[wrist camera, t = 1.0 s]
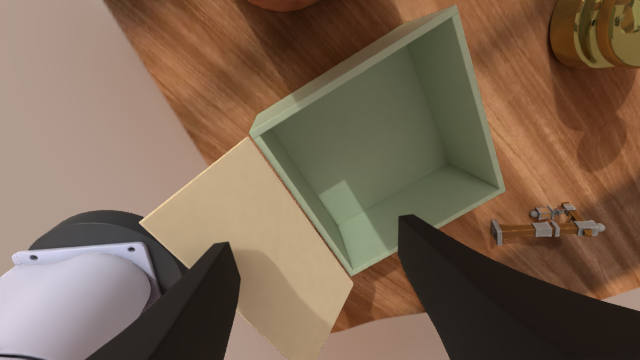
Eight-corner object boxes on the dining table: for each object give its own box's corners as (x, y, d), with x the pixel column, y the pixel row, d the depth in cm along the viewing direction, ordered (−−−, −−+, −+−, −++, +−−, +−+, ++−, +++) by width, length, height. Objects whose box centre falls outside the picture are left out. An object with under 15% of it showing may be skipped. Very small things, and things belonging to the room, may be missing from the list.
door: (354, 284, 17) (350, 283, 18) (248, 136, 13) (245, 137, 13) (308, 376, 14) (304, 374, 14) (140, 222, 9) (138, 222, 9)
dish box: (334, 229, 23) (351, 277, 18) (256, 114, 19) (248, 132, 13) (451, 162, 23) (506, 191, 17) (402, 24, 18) (456, 3, 12)
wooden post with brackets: (578, 210, 26) (609, 242, 22) (484, 218, 29) (498, 247, 25) (580, 195, 25) (613, 225, 21) (484, 205, 28) (498, 233, 24)
